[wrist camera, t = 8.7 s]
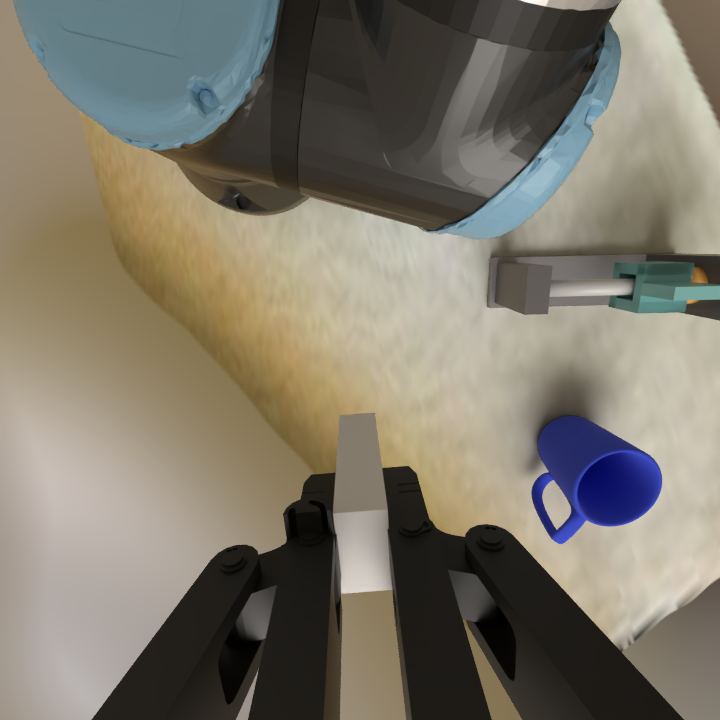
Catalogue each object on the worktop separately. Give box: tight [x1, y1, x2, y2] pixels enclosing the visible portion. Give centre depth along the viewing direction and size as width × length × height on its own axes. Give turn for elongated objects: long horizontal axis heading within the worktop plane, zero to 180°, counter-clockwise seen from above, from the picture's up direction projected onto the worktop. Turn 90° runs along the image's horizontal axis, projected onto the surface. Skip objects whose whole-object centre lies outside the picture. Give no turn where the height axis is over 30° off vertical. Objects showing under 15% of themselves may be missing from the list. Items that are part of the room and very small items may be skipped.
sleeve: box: [609, 261, 720, 313], centre depth 34 cm, size 4×4×8 cm
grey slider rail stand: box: [487, 253, 720, 320], centre depth 37 cm, size 19×5×11 cm, turn 91°
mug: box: [532, 416, 662, 544], centre depth 43 cm, size 8×12×10 cm
